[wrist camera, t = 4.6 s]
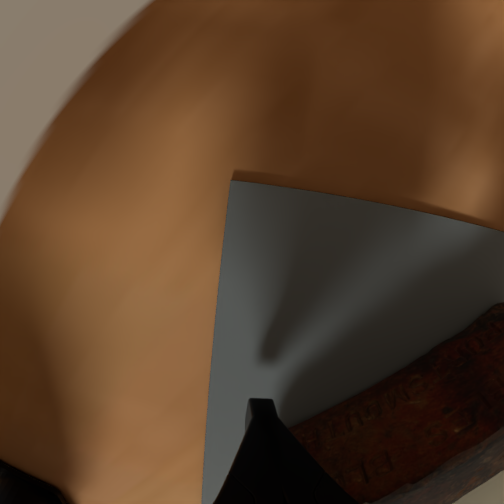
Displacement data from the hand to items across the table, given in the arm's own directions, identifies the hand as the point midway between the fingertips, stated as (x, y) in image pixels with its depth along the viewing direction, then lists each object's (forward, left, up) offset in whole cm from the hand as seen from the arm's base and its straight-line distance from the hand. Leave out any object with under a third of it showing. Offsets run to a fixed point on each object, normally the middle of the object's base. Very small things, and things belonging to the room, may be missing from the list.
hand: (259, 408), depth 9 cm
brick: (+6, -1, -1) cm, 6 cm away
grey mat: (+9, -4, -1) cm, 10 cm away
